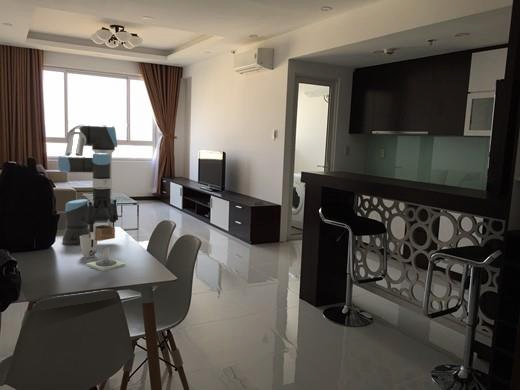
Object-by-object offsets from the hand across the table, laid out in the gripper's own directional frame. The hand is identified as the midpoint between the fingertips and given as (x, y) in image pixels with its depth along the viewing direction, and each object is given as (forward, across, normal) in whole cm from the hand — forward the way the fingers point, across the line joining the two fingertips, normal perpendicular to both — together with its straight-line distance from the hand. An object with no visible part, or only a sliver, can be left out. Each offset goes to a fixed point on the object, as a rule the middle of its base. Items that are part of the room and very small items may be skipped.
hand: (102, 237), depth 194 cm
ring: (0, 0, 0) cm, 0 cm away
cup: (+14, +4, +18) cm, 23 cm away
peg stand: (+13, +2, -1) cm, 13 cm away
